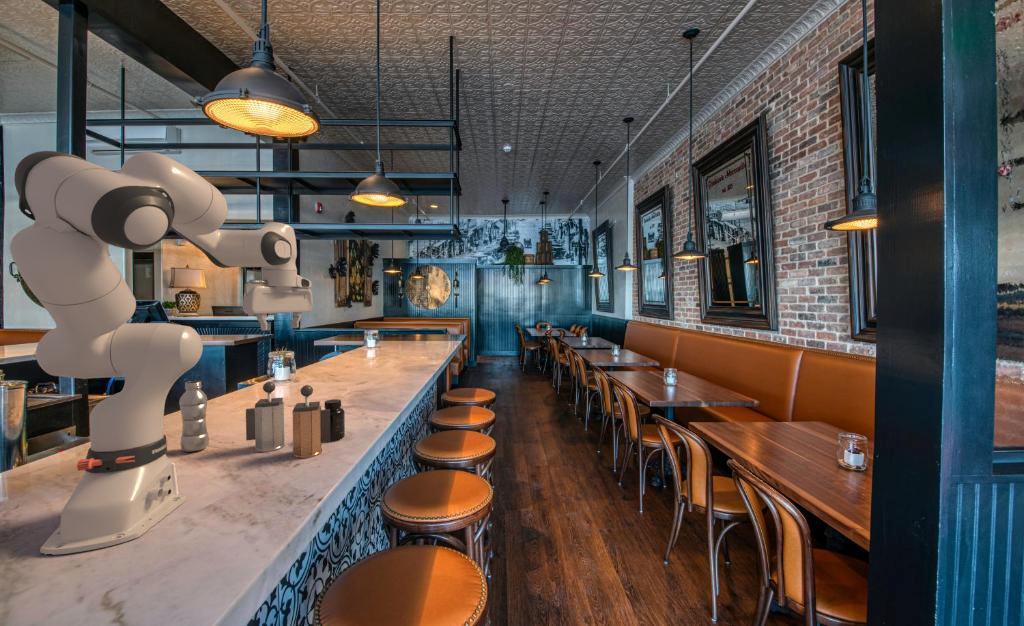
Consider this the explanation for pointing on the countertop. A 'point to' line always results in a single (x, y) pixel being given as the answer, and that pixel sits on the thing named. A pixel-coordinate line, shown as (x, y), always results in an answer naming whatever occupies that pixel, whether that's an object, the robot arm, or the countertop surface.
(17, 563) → the countertop surface
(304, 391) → the ball knob lever
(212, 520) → the countertop surface
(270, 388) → the steel plunger
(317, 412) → the copper press
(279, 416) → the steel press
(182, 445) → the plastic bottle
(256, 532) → the countertop surface
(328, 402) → the supplement bottle
